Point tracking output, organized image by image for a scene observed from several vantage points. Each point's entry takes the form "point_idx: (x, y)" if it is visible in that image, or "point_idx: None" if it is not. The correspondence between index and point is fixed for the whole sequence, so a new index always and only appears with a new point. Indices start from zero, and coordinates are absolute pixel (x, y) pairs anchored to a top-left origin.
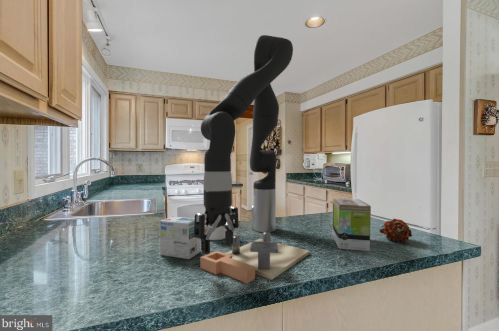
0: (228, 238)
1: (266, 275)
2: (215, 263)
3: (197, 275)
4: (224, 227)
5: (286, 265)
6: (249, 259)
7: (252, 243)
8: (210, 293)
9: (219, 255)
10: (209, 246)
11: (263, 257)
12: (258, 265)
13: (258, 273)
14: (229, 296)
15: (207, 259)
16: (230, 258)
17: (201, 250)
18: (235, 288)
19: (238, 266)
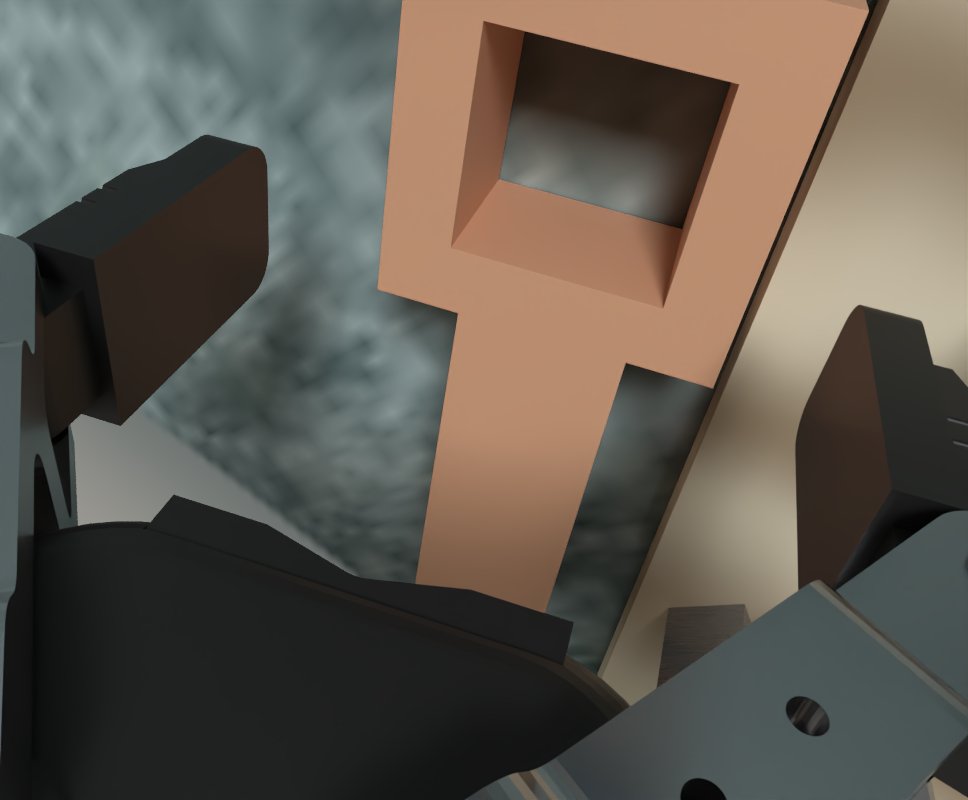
0: (830, 461)
1: (607, 659)
2: (384, 275)
3: (293, 7)
4: (867, 573)
5: None
6: None
7: None
8: None
9: (714, 153)
10: (187, 343)
11: None
12: (666, 642)
13: (630, 597)
14: (225, 473)
15: (399, 108)
16: (600, 403)
17: (139, 174)
18: (333, 478)
19: (441, 543)
